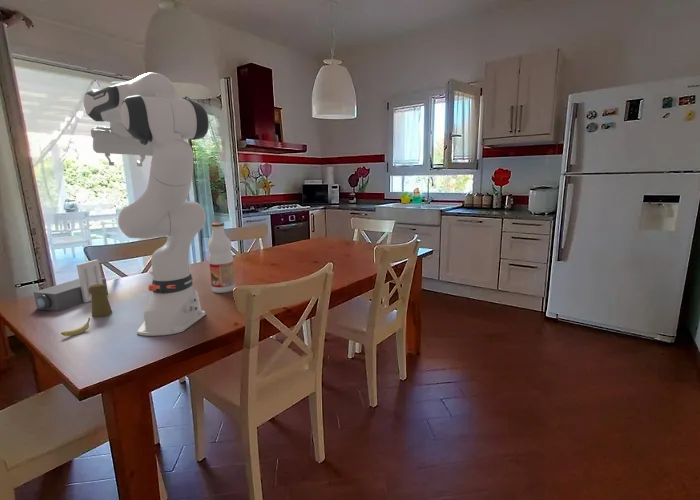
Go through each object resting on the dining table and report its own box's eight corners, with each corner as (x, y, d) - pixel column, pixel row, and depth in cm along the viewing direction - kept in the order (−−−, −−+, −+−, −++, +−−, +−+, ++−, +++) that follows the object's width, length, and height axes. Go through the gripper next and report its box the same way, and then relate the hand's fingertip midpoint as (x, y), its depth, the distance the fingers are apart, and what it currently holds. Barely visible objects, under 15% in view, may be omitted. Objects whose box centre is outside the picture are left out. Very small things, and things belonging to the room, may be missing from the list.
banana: (90, 328, 118) (88, 316, 117) (93, 329, 117) (91, 317, 117) (61, 338, 111) (58, 326, 111) (64, 339, 111) (61, 327, 110)
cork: (100, 318, 126) (94, 287, 124) (87, 316, 128) (82, 286, 126) (116, 312, 132) (111, 282, 129) (104, 310, 134) (99, 281, 131)
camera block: (54, 313, 132) (50, 293, 130) (31, 310, 135) (27, 291, 134) (108, 293, 152) (105, 276, 151) (87, 291, 156) (84, 275, 154)
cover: (86, 302, 142) (79, 264, 138) (83, 302, 142) (76, 264, 139) (105, 295, 149) (99, 259, 146) (102, 295, 150) (96, 259, 146)
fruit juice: (234, 292, 150) (227, 224, 144) (210, 294, 149) (202, 225, 143) (237, 285, 159) (231, 221, 153) (214, 287, 158) (207, 222, 152)
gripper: (91, 127, 129) (94, 166, 134) (156, 132, 142) (156, 168, 147) (89, 124, 133) (92, 162, 138) (152, 130, 146) (152, 164, 151)
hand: (125, 165), depth 142 cm, fingers open, 8 cm apart
